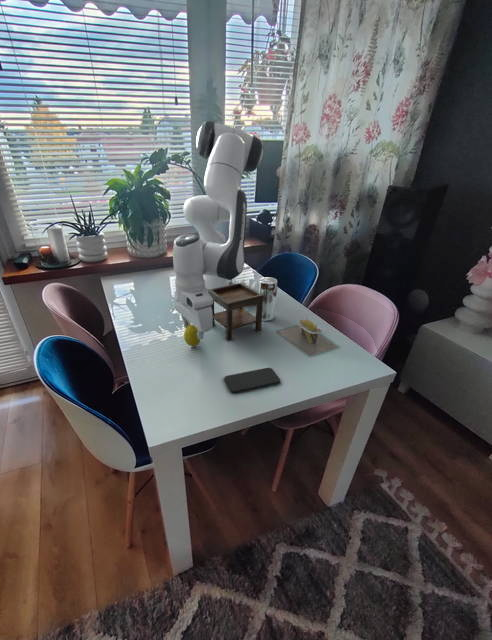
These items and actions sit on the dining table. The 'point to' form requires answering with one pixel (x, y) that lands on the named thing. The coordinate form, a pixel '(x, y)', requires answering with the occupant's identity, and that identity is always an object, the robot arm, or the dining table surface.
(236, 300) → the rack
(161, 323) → the dining table surface
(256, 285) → the shaker set
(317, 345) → the platform
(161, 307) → the dining table surface
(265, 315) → the beer glass
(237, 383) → the phone
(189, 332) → the lemon
